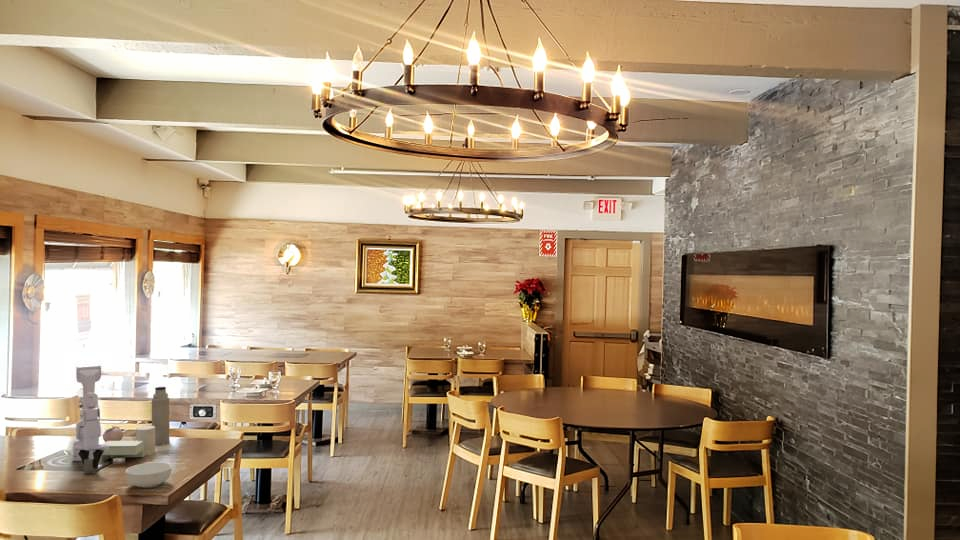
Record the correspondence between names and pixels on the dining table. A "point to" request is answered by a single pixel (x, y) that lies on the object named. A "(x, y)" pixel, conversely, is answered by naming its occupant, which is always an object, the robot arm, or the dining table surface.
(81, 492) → the dining table surface
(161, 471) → the cereal bowl
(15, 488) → the dining table surface
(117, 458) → the token
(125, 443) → the pale green rectangular block
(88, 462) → the dark grey long block
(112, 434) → the decorative fruit
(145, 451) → the beige cylinder
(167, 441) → the thermos bottle
